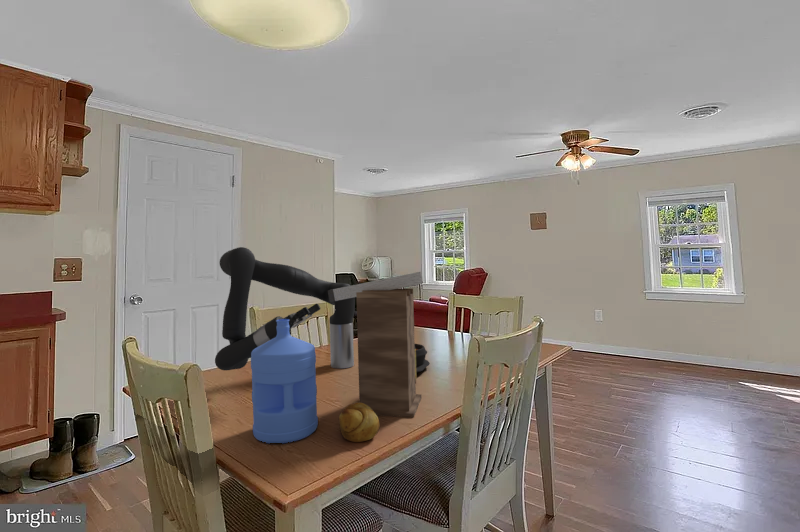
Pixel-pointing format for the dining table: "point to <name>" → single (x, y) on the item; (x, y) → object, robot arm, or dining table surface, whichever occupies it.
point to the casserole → (420, 358)
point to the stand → (387, 352)
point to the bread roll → (358, 422)
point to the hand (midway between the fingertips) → (313, 307)
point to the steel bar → (376, 286)
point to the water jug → (284, 388)
